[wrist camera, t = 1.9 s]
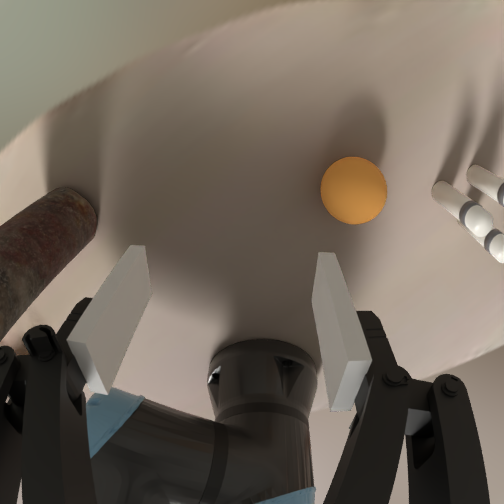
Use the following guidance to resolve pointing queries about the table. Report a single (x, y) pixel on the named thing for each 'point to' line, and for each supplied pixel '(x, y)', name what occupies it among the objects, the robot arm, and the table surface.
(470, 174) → the pin
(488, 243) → the pin
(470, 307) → the table surface
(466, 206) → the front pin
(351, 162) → the ball
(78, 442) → the robot arm
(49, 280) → the rusty brown cylinder
